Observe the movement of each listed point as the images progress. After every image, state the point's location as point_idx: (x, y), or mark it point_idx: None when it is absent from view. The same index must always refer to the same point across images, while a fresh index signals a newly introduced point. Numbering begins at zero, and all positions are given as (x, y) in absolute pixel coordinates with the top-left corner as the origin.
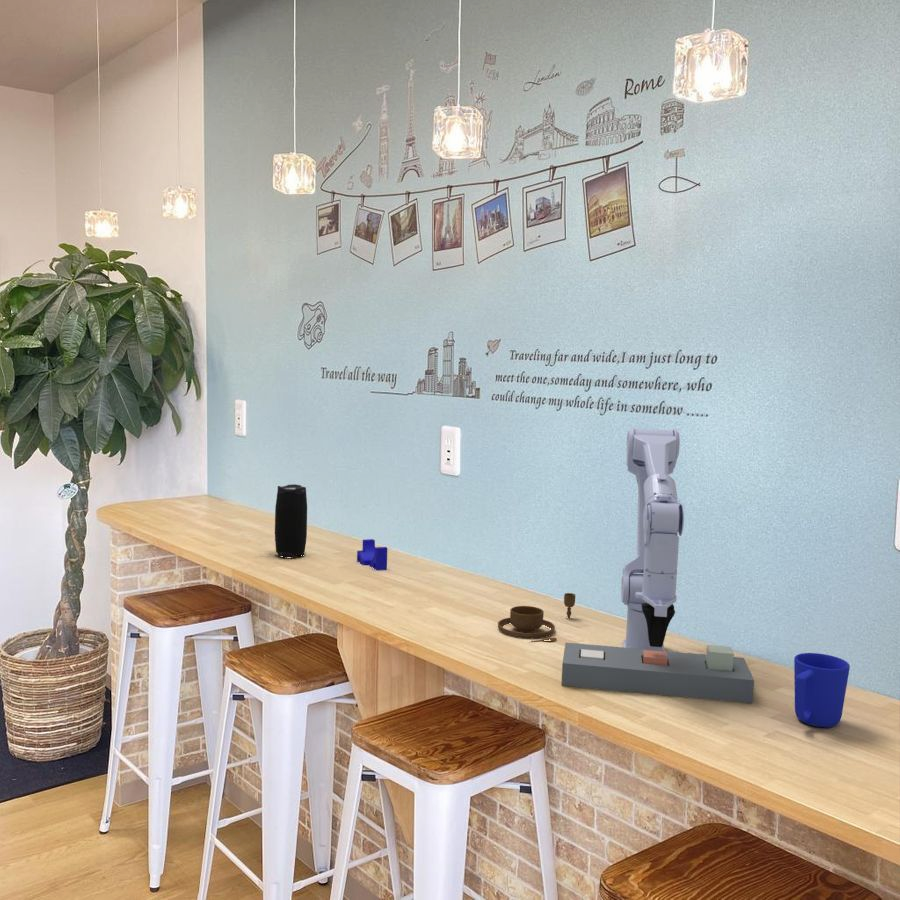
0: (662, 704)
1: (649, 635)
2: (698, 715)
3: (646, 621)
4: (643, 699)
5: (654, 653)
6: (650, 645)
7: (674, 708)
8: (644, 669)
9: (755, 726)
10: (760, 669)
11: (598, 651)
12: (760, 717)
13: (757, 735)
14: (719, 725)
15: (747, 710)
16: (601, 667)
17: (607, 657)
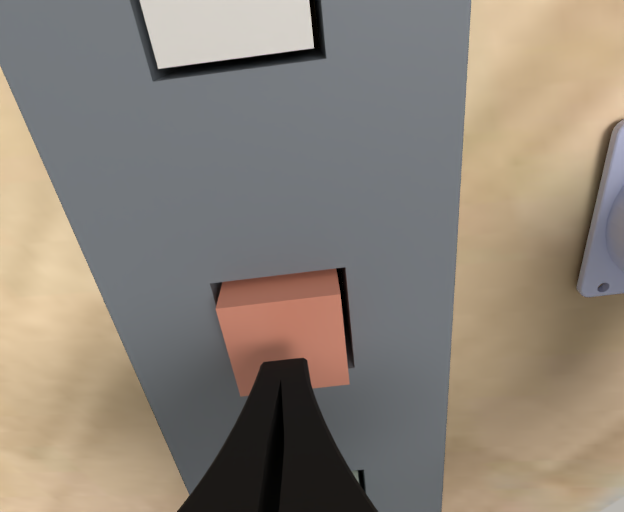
0: (67, 313)
1: (243, 412)
2: (45, 404)
3: (182, 506)
4: (72, 253)
5: (300, 345)
6: (260, 367)
7: (55, 347)
8: (117, 301)
9: (66, 501)
10: (519, 502)
11: (293, 9)
12: (138, 507)
13: (7, 505)
14: (7, 446)
15: (170, 488)
16: (9, 74)
17: (216, 90)
